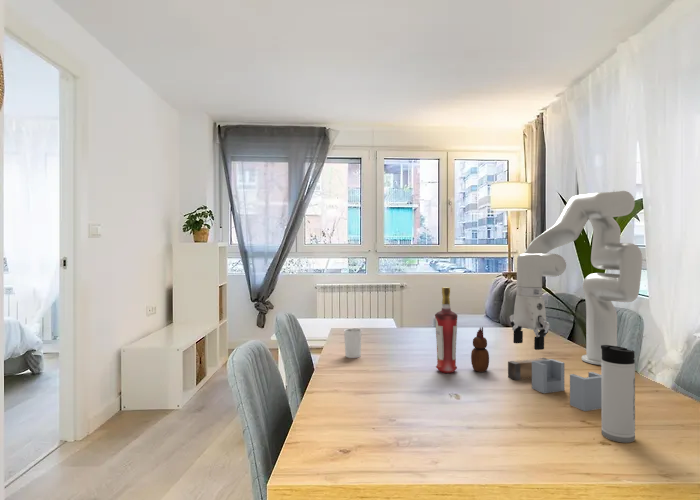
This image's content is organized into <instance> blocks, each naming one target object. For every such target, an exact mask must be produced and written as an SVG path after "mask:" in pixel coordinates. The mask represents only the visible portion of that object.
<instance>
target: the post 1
mask: <svg viewBox="0 0 700 500" xmlns="http://www.w3.org/2000/svg"><path fill="white" fill-rule="evenodd" d="M546 359H547V360H538V361H532V378H531V389H533V390H534V391H537V392H539V393H541V394H550V393H556V392H564V391H565V389H566V388H565V362H563V361H560V360H556V359H553V358H546Z"/></svg>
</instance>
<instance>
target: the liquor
mask: <svg viewBox="0 0 700 500" xmlns="http://www.w3.org/2000/svg"><path fill="white" fill-rule="evenodd" d="M441 294H442V301H441V310H439V311H438V312H436V313H435V314H434V320H435V322H434V323H435V338H436V360H437V362H436V363H437V364H436V366H435V368H436V369H437V370H438V371H439V372H440V373H444V374H452V373H454V372H455V371H456V370H457V369H458V366H457V364H456V363H457V361H456V360H457V358H456V356H457V355H456V354H457V337H458V336H457V334H458V333H457V332H458V314H457V313H456V312H454V311H452V310H451V309H452V308H451V301H450V300H451V299H450V295H451V287H449V286H448V287H447V286H443V287H441Z"/></svg>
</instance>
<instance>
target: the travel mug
mask: <svg viewBox="0 0 700 500" xmlns="http://www.w3.org/2000/svg"><path fill="white" fill-rule="evenodd" d="M601 349H602V359H601V361H602V363H601V365H600V366H601V367H600V368H601V371H600V372H601V374H600V375H601V388H602V409H601V435H602V436H603V437H604V438H606V439H607V440H610V441H613V442H617V443H622V444H626V443H627V444H628V443H632V442H635V440H636V366H635V365H636V361H635V353H636V352H635V350H630V349H628V348H627V347H626V348H625V347H623V346H618V345H617V346H611V345H601Z"/></svg>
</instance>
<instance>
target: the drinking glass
mask: <svg viewBox="0 0 700 500" xmlns="http://www.w3.org/2000/svg"><path fill="white" fill-rule="evenodd" d="M343 331H344V332H343V333H344V352H345V355H344V356H345V358H347V359H348V358H349V359H355V358H360V357H361V354H362V352H361V351H362V350H361V349H362V329H361V328H353V327H350V328H345V329H343Z"/></svg>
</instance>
